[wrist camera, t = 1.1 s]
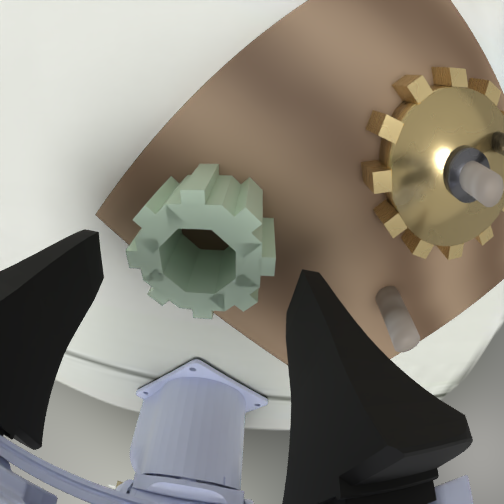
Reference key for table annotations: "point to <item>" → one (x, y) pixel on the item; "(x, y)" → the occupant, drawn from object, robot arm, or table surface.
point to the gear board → (327, 165)
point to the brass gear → (436, 160)
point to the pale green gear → (199, 260)
